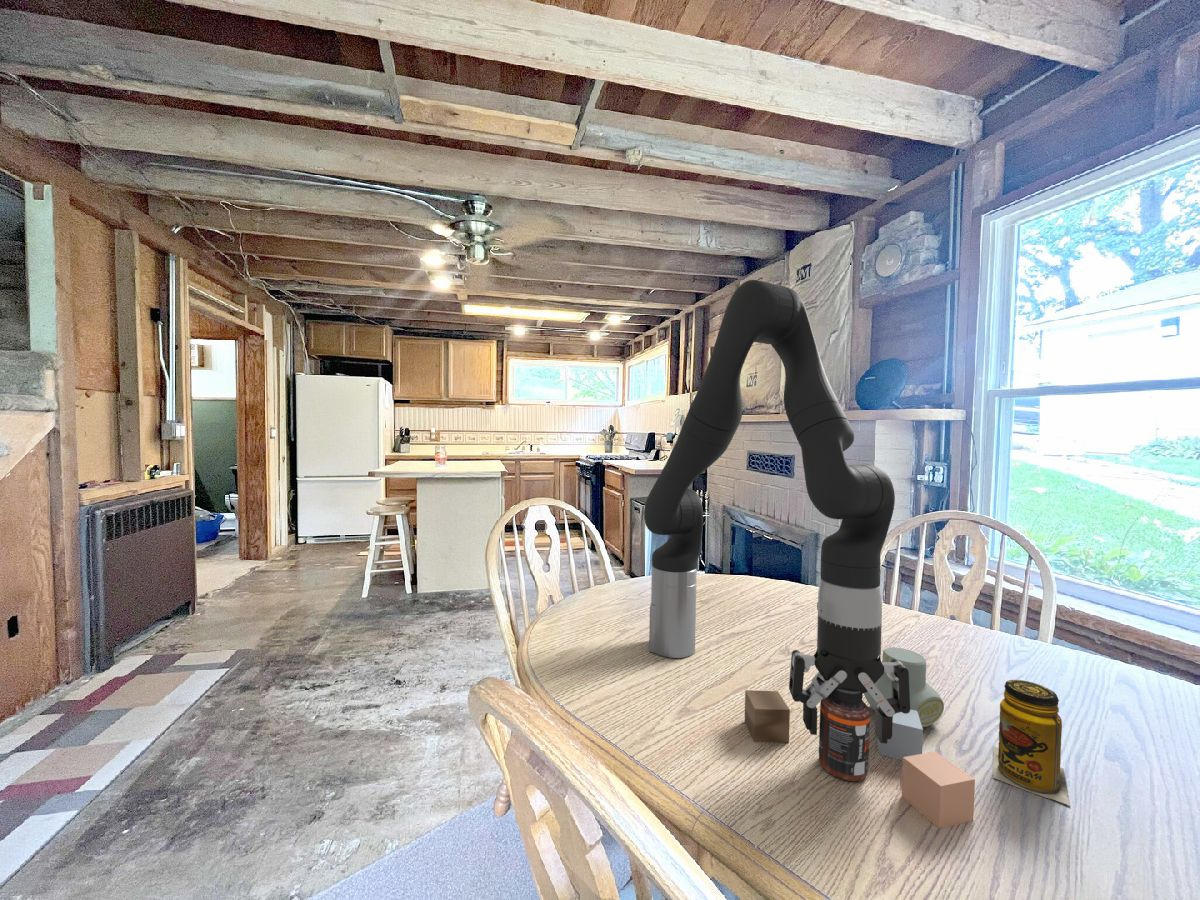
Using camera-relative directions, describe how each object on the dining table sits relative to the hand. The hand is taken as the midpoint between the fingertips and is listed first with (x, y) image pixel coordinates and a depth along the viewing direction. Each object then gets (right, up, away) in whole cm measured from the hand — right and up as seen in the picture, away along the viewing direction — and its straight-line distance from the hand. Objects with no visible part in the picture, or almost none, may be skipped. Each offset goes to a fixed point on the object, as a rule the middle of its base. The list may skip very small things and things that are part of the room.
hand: (846, 735), depth 64 cm
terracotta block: (+8, -5, -6) cm, 11 cm away
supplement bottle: (0, -5, 0) cm, 5 cm away
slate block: (+10, -5, +5) cm, 12 cm away
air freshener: (+15, -5, +13) cm, 20 cm away
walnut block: (-8, -4, +8) cm, 12 cm away
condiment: (+24, -5, 0) cm, 25 cm away
